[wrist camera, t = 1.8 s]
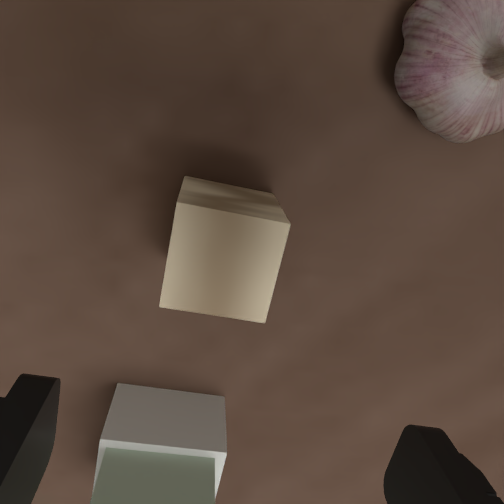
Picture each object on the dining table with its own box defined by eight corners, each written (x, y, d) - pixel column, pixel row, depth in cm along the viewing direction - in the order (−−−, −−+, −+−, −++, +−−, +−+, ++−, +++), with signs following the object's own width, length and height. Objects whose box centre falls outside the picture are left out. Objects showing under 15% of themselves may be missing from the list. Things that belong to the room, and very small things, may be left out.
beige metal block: (272, 193, 25) (290, 224, 19) (253, 273, 27) (265, 323, 21) (184, 175, 24) (176, 202, 19) (170, 259, 26) (158, 306, 20)
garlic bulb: (381, -12, 22) (470, -63, 14) (523, -21, 22) (681, -75, 15) (376, 144, 25) (449, 169, 17) (503, 134, 25) (628, 154, 17)
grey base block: (224, 395, 30) (227, 452, 25) (205, 474, 32) (204, 540, 27) (118, 381, 29) (99, 439, 24) (105, 464, 31) (87, 531, 26)
